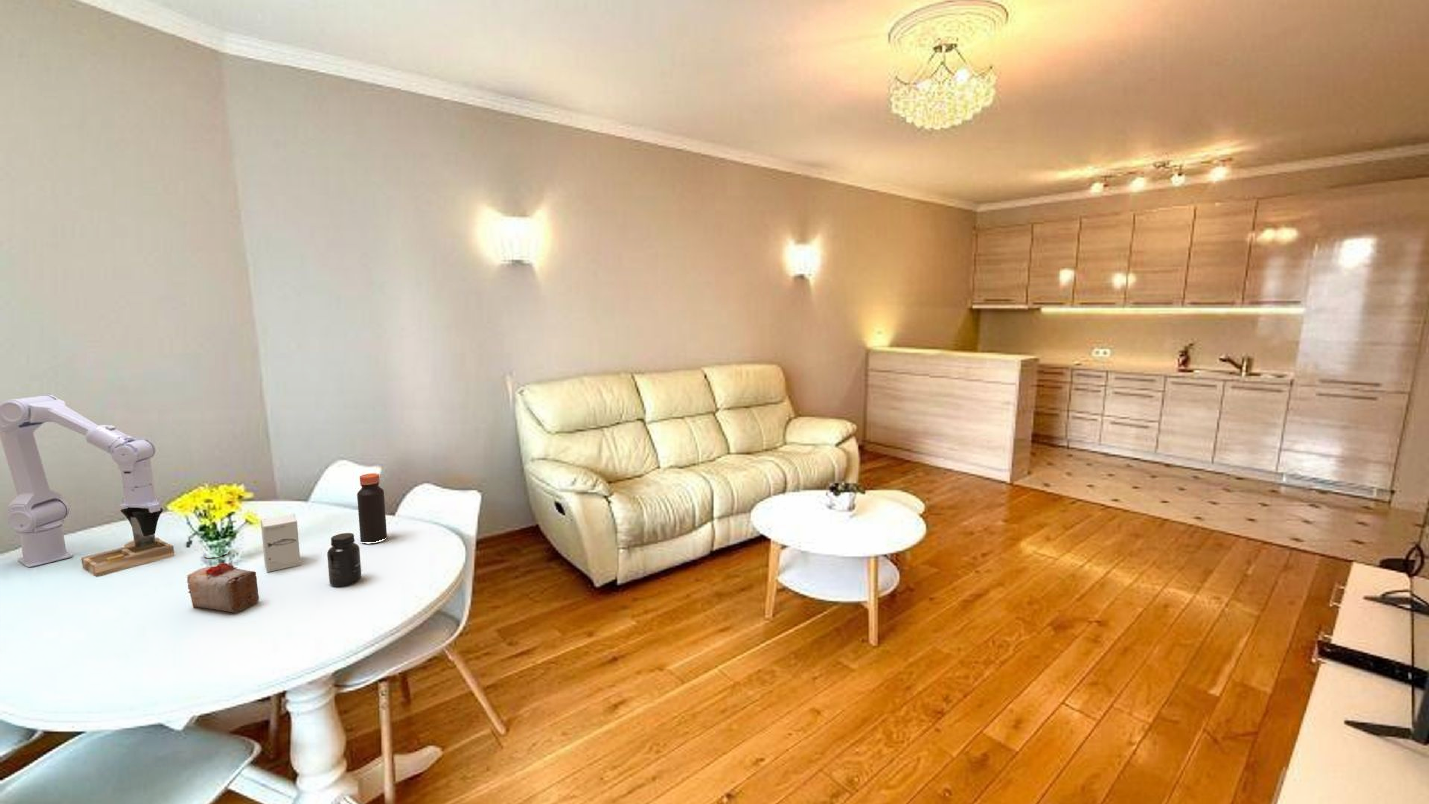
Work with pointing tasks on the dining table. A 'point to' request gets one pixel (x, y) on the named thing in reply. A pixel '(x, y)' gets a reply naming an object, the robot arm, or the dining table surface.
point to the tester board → (126, 557)
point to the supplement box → (280, 542)
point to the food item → (223, 588)
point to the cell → (140, 534)
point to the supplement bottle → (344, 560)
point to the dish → (132, 543)
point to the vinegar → (371, 509)
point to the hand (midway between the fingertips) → (145, 533)
